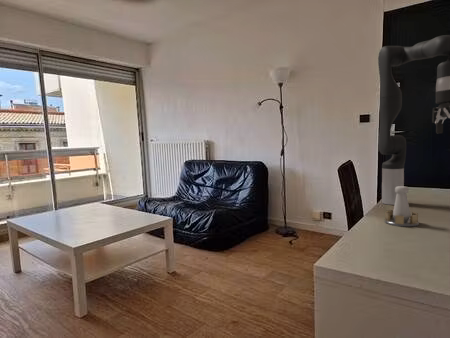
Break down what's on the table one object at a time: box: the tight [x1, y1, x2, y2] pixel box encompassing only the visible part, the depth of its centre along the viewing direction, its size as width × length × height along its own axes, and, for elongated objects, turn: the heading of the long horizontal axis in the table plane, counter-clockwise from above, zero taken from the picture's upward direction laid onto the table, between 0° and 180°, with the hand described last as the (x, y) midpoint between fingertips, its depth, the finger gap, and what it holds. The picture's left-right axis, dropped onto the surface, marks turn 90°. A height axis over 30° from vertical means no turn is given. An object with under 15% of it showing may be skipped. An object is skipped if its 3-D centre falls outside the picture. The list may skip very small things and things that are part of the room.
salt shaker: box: [392, 186, 412, 222], centre depth 112 cm, size 6×6×13 cm
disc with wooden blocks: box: [384, 209, 420, 228], centre depth 112 cm, size 11×11×4 cm
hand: (446, 133), depth 115 cm, fingers open, 8 cm apart
